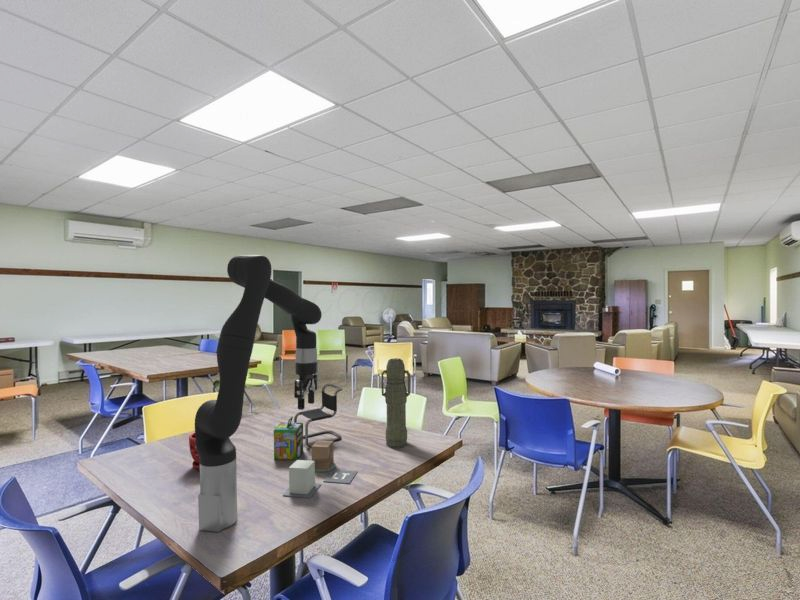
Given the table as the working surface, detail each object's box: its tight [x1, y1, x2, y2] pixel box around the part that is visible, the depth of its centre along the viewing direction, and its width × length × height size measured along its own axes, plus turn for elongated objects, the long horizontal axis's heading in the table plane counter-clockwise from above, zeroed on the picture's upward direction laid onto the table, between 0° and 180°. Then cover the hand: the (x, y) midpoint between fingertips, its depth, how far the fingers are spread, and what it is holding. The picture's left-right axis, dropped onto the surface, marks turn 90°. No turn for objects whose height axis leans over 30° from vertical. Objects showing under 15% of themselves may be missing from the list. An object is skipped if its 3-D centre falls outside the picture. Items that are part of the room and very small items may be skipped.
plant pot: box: [188, 432, 200, 471], centre depth 152 cm, size 13×13×12 cm
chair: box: [293, 383, 343, 448], centre depth 177 cm, size 13×17×22 cm
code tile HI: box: [282, 482, 322, 499], centre depth 132 cm, size 9×9×1 cm
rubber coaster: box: [315, 462, 337, 473], centre depth 150 cm, size 9×9×1 cm
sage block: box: [288, 459, 316, 494], centre depth 132 cm, size 6×6×8 cm
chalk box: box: [273, 415, 304, 461], centre depth 161 cm, size 9×9×15 cm
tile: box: [322, 469, 358, 485], centre depth 141 cm, size 9×9×1 cm
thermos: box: [380, 357, 411, 449], centre depth 171 cm, size 9×12×35 cm
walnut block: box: [310, 439, 335, 470], centre depth 149 cm, size 6×6×8 cm
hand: (306, 406), depth 147 cm, fingers open, 8 cm apart
